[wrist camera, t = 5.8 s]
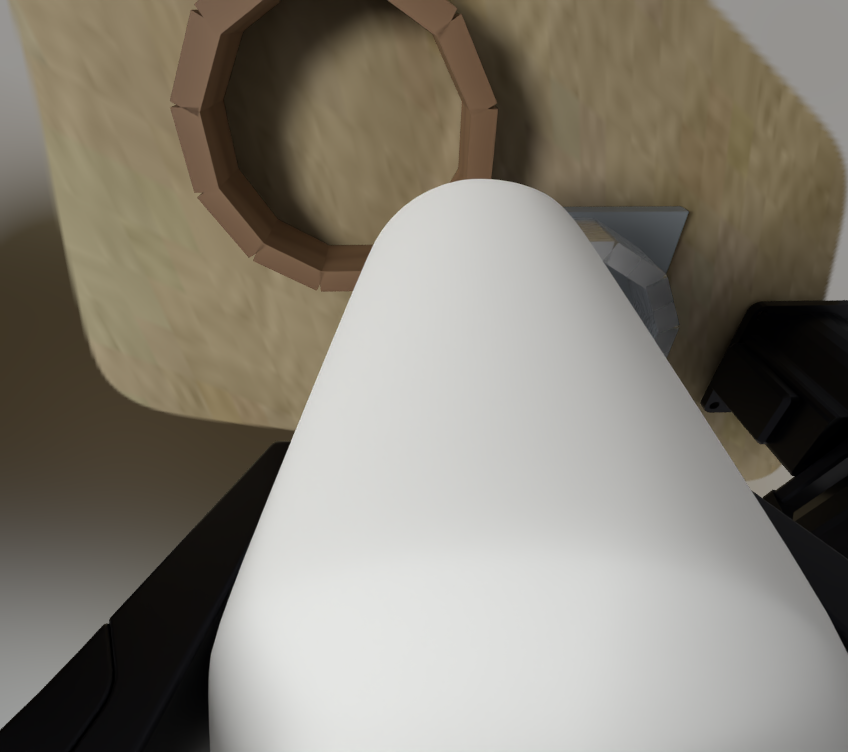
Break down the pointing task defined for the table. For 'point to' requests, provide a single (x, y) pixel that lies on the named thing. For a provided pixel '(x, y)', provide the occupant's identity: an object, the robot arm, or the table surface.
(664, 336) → the dock
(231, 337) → the table surface
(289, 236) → the brown segmented ring
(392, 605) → the can
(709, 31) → the table surface
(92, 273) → the table surface
